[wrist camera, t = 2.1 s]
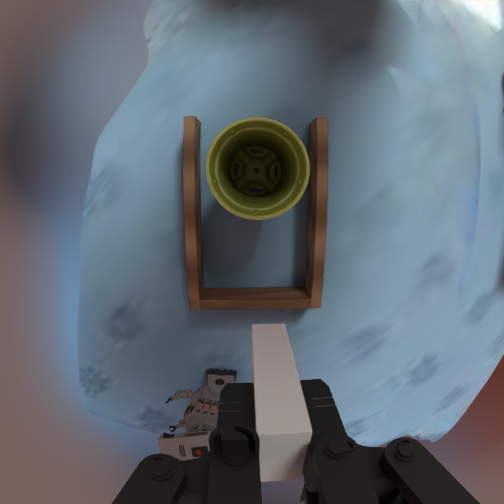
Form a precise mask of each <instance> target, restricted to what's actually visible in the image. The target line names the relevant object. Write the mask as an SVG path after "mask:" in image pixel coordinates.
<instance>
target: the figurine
mask: <svg viewBox="0 0 504 504" xmlns="http://www.w3.org/2000/svg"><path fill="white" fill-rule="evenodd" d="M235 380H236V371H233V370H229V371H228V370H218V369H215V370H213V369H209V370H208V369H207V382H208V384H206V385H204V386H202V387H201V388H199V389H198V390H197V392H196V393H192V392H191V390H190V389H189V388H187V389H186V391H185V390H183V391H181V390H179V391H177V392H176V393H175V395H174V396H172V398H171V397H170V398H169V399H168V401H167V402H165V403H166V404H167V403H168V402H169V401H170V400H171V401H172V400H173V399H175V398H177V399H179V398H181V397H183V396H184V397H187V396H189V397H191V404H190V405H189V406H188V407H187V410H186V411H185V412H184V413H185V415H184V420H181V421H179V424H178V425H176V426H170V427H169V429H170V428H171V427H172V428H174V429H173V430H172V431H171V430H170V431H171V432H173V431H174V430H175V429H176V428H179V427H185V428H186V433H181V434H166V432H165V433H164V435H161V436H160V438H159V439H158V440H159V446H160V451H161V453H162V454H168V455H171V456H173V457H175V458H177V459H178V460H179V461H183V460H190V459H195V458H199V457H201V456H203V455H205V454H207V453H208V452H209V451H210V447H209V441H208V439H209V436H210V434H211V432H212V431H213V430H215V429H216V428H217V419H218V411H219V410H218V409H219V400H220V391H221V390H222V389H223V387H224V386H225V385H226V383H234V381H235Z"/></svg>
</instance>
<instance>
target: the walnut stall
mask: <svg viewBox="0 0 504 504" xmlns="http://www.w3.org/2000/svg"><path fill="white" fill-rule="evenodd" d="M200 126H201V123H200V122H199V120H198V119H197V118H196V117H195V116H188V117H184V135H183V184H184V223H185V246H186V264H187V279H188V293H189V306H190V309H217V310H262V309H307V308H321V298H322V286H323V274H324V260H325V244H326V225H327V198H328V118H319V117H317V118H316V119H314V120H313V121H312V122H311V123H310V124H309V131H310V175H309V219H308V245H307V265H306V282H305V287H268V288H205V287H204V282H203V261H202V236H201V194H200Z"/></svg>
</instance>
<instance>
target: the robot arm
mask: <svg viewBox="0 0 504 504" xmlns="http://www.w3.org/2000/svg"><path fill="white" fill-rule="evenodd" d="M218 410H219V411H218V419H217V428H216V429H215V430H213V431H212V432H211V434H210V436H209V439H208V441H209V447H210V451H209V452H208V453H207V454H205V455H203V456H201V457H199V458H195V459H190V460H183V461H179V460H178V459H177V458H175V457H173V456H171V455H168V454H162V453H161V454H154V455H150V456H148V457H146V458H145V459H143V460H142V461H141V462H140V463H139V465H138V466H137V468H136V469H135V471H134V472H133V474H132V475H131V477H130V478H129V480H128V481H127V482H126V484H125V485H124V487H123V488H122V490H121V491H120V493H119V494H118V495H117V497H116V499H115V500H114V501H113V503H112V504H262V498H261V482H264V481H283V480H296V479H301V478H302V474H303V476H304V481H305V484H304V488H303V491H302V494H301V499H300V501H305V504H480V503H479V502H478V501H477V500H476V499H475V498H474V497H473V496H472V495H471V494H470V493H469V492H468V491H467V490H466V489H465V488H464V487H463V486H462V485H461V484H460V483H459V482H458V481H457V480H456V479H455V478H454V477H453V476H452V475H451V474H450V473H449V472H448V471H447V470H446V469H445V468H444V467H443V466H442V465H441V464H440V463H439V462H438V461H437V459H435V457H434V456H433V455H432V454H431V453H430V452H429V451H428V450H427V449H426V448H425V447H424V446H423V445H422V444H421V443H419V442H418V441H417V440H415V439H411V438H398V439H395V440H393V441H392V442H390V443H389V444H388V445H387V447H386V448H382V447H381V448H380V447H366V446H362V445H359V444H357V443H356V442H355V440H353V439H351V438H350V437H348V436H347V434H346V432H345V429H344V426H343V423H342V421H341V418H340V415H339V412H338V410H337V407H336V406H335V402H334V399H333V398H332V394H331V391H330V388H329V386H328V385H327V384H326V383H324V382H323V381H322V380H321V379H313V380H299V376H298V372H297V368H296V364H295V360H294V356H293V352H292V349H291V345H290V341H289V337H288V333H287V329H286V326H285V324H252V383H226V385H225V386H224V387H223V389H222V390H221V391H220V400H219V409H218Z"/></svg>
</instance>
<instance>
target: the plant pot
mask: <svg viewBox="0 0 504 504" xmlns="http://www.w3.org/2000/svg"><path fill="white" fill-rule="evenodd" d="M252 150H262V151H263V153H258V152H253V153H252V152H251V151H252ZM236 164H238V168H237V173H238V175H237V176H236V175H235V173H234V169H235V165H236ZM275 166H276V167H277V170H278V174H277V177H274V174H275ZM254 169H258V172H257V173H255V172H254ZM309 175H310V164H309V158H308V154H307V151H306V149H305V147H304V145H303V143H302V141H301V140H300V138H299V137H298V136H297V135H296V134H295V133H294V132H293V131H292V130H291V129H290V128H288V127H287V126H285V125H284V124H282V123H280V122H278V121H275V120H272V119H269V118H261V117H252V118H246V119H242V120H239V121H236V122H234V123H232V124H231V125H229V126H227V127H226V128H225V129H223V130H222V131H221V132H220V133H219V134H218V135H217V136H216V138H215V139H214V140H213V142H212V144H211V146H210V148H209V150H208V154H207V158H206V177H207V182H208V185H209V188H210V190H211V192H212V194H213V195H214V197H215V198H216V200H217V201H218V202H219V203H220V205H222V206H223V207H224V208H225V209H226V210H228V211H229V212H231V213H232V214H234V215H236V216H239V217H242V218H246V219H251V220H265V219H270V218H274V217H276V216H279V215H281V214H283V213H285V212H286V211H288V210H289V209H291V208H292V207H293V206H294V205H295V204H296V203H297V202H298V201H299V200H300V198H301V197H302V195H303V193H304V191H305V189H306V187H307V184H308V180H309ZM250 189H261V191H260V192H251V191H250Z"/></svg>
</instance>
